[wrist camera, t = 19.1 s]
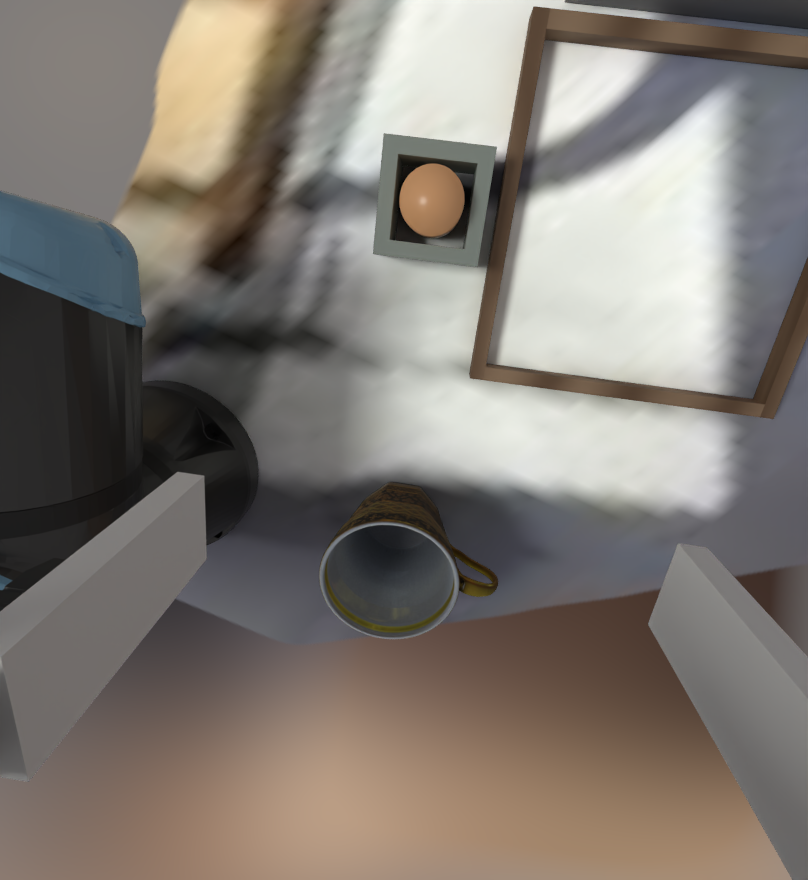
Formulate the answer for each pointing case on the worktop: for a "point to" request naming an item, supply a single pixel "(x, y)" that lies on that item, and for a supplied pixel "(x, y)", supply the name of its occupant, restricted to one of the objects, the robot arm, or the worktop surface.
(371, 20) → the worktop surface
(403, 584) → the ceramic cup
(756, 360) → the worktop surface
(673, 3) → the tray
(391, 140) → the button housing
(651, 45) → the wooden flat square frame
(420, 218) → the button
